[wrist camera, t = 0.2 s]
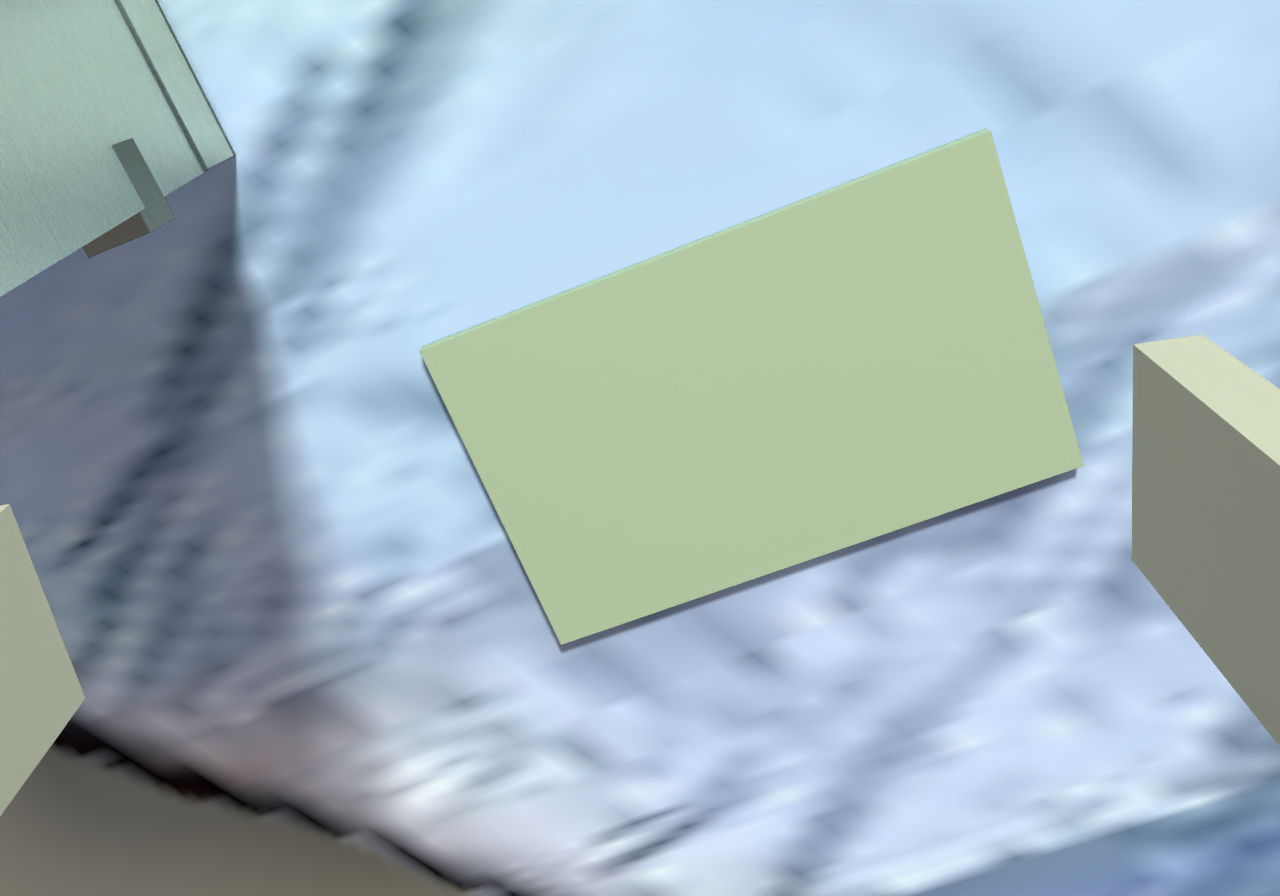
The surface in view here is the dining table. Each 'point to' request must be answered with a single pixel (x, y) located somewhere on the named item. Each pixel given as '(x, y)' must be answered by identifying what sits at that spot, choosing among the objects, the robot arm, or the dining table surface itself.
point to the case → (93, 128)
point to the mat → (765, 392)
